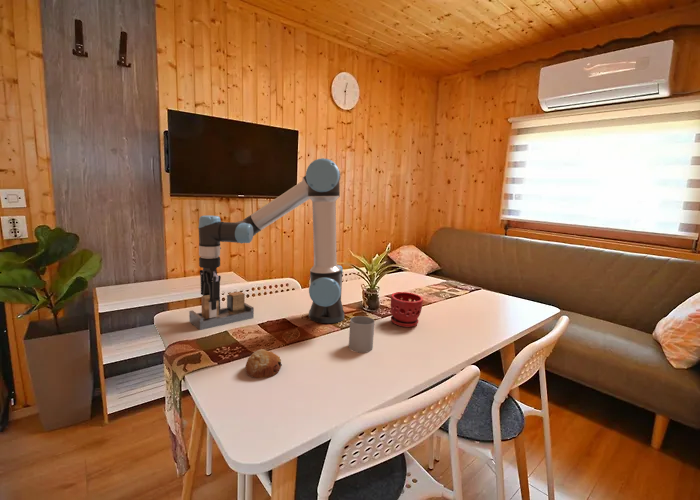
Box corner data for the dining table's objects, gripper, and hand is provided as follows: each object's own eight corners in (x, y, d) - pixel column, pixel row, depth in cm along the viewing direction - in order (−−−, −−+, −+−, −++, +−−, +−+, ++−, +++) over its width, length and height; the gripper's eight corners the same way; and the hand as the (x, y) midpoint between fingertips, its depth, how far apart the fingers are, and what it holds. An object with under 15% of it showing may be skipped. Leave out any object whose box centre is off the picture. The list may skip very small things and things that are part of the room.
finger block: (220, 315, 142) (220, 296, 141) (205, 319, 138) (205, 298, 137) (216, 313, 145) (216, 293, 144) (201, 316, 141) (201, 296, 140)
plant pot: (382, 322, 152) (384, 295, 150) (400, 316, 162) (403, 290, 160) (409, 332, 143) (411, 303, 142) (426, 324, 153) (429, 297, 151)
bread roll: (255, 373, 113) (244, 351, 111) (285, 360, 113) (275, 338, 111) (249, 390, 103) (237, 366, 101) (282, 376, 103) (270, 352, 102)
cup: (370, 354, 122) (372, 326, 120) (346, 350, 124) (348, 322, 122) (374, 344, 130) (375, 317, 128) (351, 341, 132) (353, 314, 130)
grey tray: (253, 317, 149) (253, 294, 148) (200, 330, 134) (199, 304, 132) (241, 311, 156) (241, 288, 155) (189, 322, 141) (189, 297, 139)
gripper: (229, 259, 134) (229, 319, 138) (209, 252, 146) (210, 307, 150) (209, 261, 129) (210, 324, 133) (190, 253, 141) (191, 311, 144)
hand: (210, 315), depth 141 cm, fingers closed on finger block, 4 cm apart
